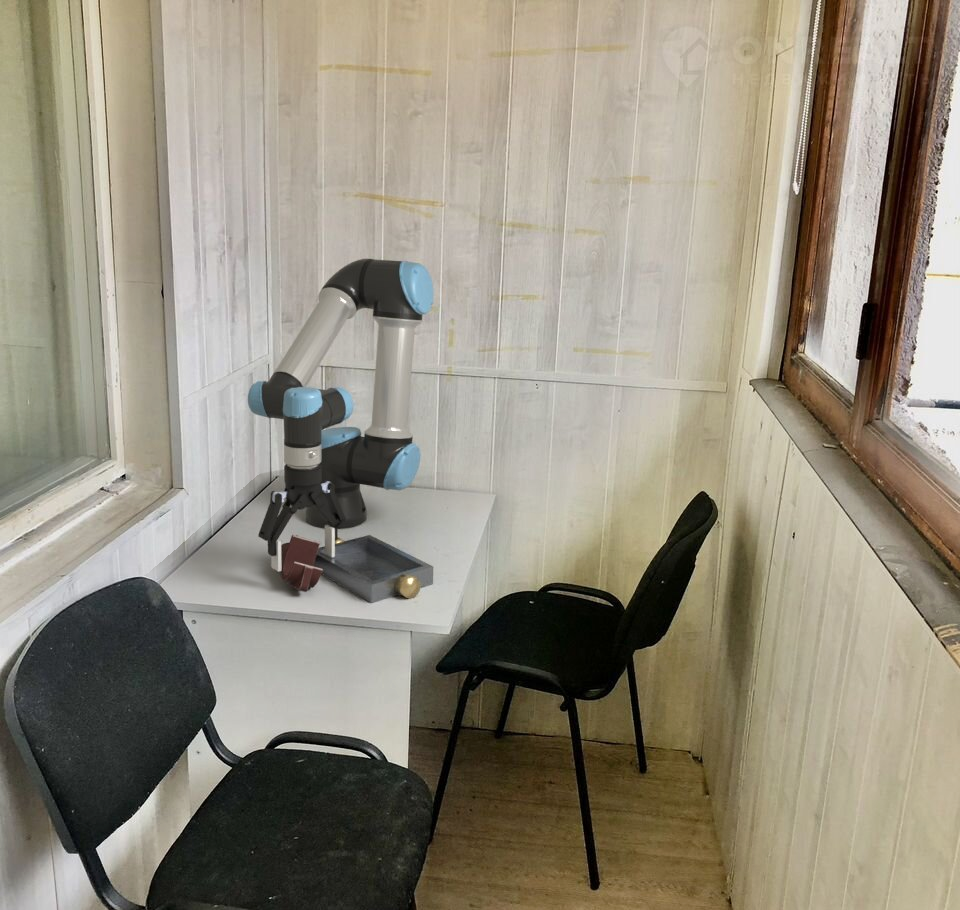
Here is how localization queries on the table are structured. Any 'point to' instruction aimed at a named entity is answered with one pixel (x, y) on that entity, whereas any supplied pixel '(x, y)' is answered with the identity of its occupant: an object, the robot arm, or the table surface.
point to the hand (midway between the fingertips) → (303, 562)
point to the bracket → (300, 563)
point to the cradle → (374, 569)
